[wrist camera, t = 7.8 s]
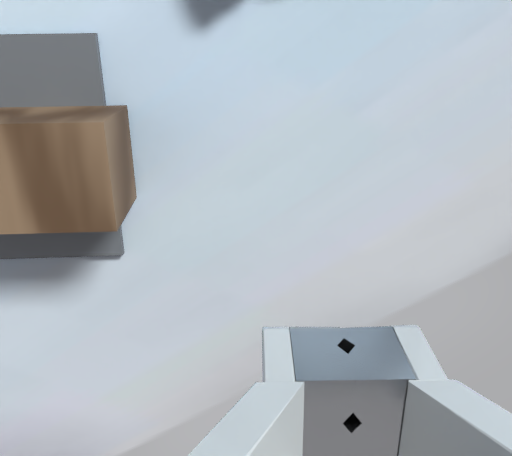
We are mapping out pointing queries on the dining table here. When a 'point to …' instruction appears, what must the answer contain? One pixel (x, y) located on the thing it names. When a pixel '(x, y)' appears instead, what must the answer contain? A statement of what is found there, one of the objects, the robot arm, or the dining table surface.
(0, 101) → the charcoal mat
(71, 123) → the brown rectangular block
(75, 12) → the dining table surface
